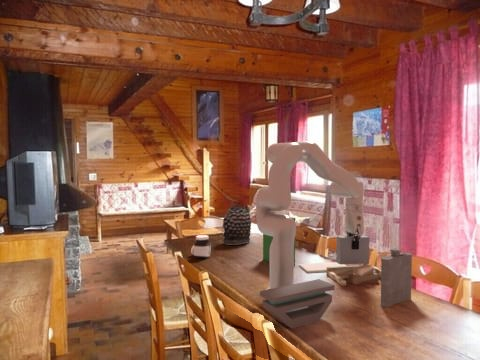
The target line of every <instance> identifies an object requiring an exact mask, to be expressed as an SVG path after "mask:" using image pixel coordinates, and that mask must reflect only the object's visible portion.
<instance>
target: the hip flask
mask: <svg viewBox="0 0 480 360" xmlns="http://www.w3.org/2000/svg"><path fill="white" fill-rule="evenodd" d="M389 252H390V254H389V255H385V256H383V257H381V258H380V259H381V264H380V265H381V267H380V269H381V279H380V307H382V308H390V307H393V306H394V305H397V304H399V303H404V302H409V301H411V300H412V269H413V268H412V266H413V264H412V263H413V261H412V260H413V257H412V256H413V254H412V253H411V252H402V251H401V249H400V248H395V247H394V248H390V249H389Z"/></svg>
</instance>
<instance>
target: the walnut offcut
mask: <svg viewBox="0 0 480 360" xmlns="http://www.w3.org/2000/svg"><path fill="white" fill-rule="evenodd" d="M347 283H350V284H351V285H353V286H359V285H361V284H362V285H368V284H376V283H379V278H378V274H377V273H375V272H373V273H371V274H368V275H365V276H362V277H360V276H357V275H353V273H349V274H348V279H347ZM362 285H361V286H362Z"/></svg>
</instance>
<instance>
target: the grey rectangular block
mask: <svg viewBox="0 0 480 360" xmlns="http://www.w3.org/2000/svg"><path fill="white" fill-rule="evenodd" d="M352 240H353V236H347V235H337V236H336V257H335V258H336V259H335V262H337V263H338V264H345V265H364V264H367V265H370V241H371V238H370V237H369V236H367V235H362V236H361V237H360V241H359V249H355V250H353V249H352Z"/></svg>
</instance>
